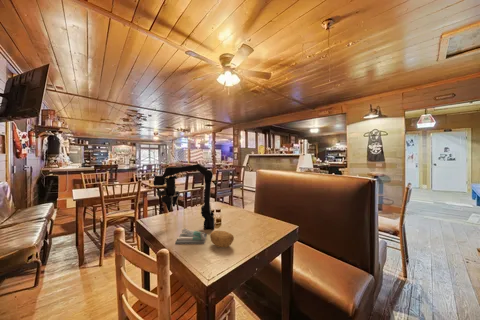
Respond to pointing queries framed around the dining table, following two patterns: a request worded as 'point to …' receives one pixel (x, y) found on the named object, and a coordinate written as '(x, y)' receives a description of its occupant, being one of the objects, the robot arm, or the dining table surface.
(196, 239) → the slate board
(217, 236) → the potato
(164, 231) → the dining table surface
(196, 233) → the tong arm
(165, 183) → the robot arm
